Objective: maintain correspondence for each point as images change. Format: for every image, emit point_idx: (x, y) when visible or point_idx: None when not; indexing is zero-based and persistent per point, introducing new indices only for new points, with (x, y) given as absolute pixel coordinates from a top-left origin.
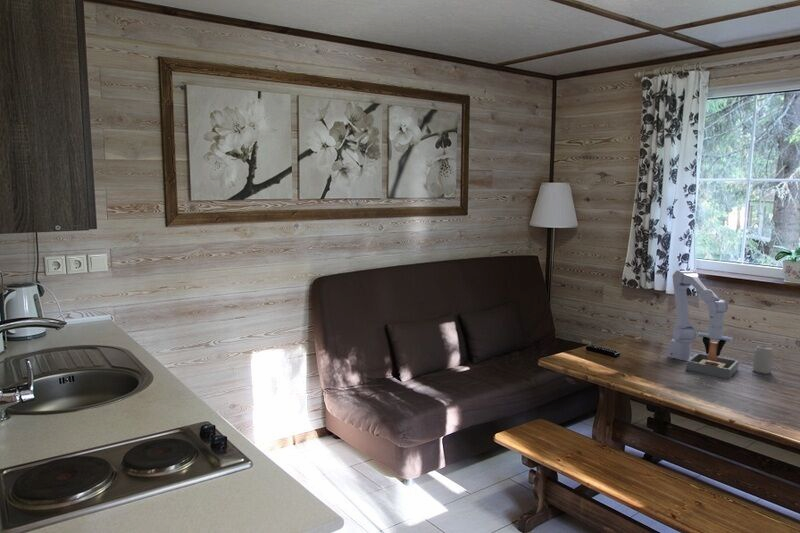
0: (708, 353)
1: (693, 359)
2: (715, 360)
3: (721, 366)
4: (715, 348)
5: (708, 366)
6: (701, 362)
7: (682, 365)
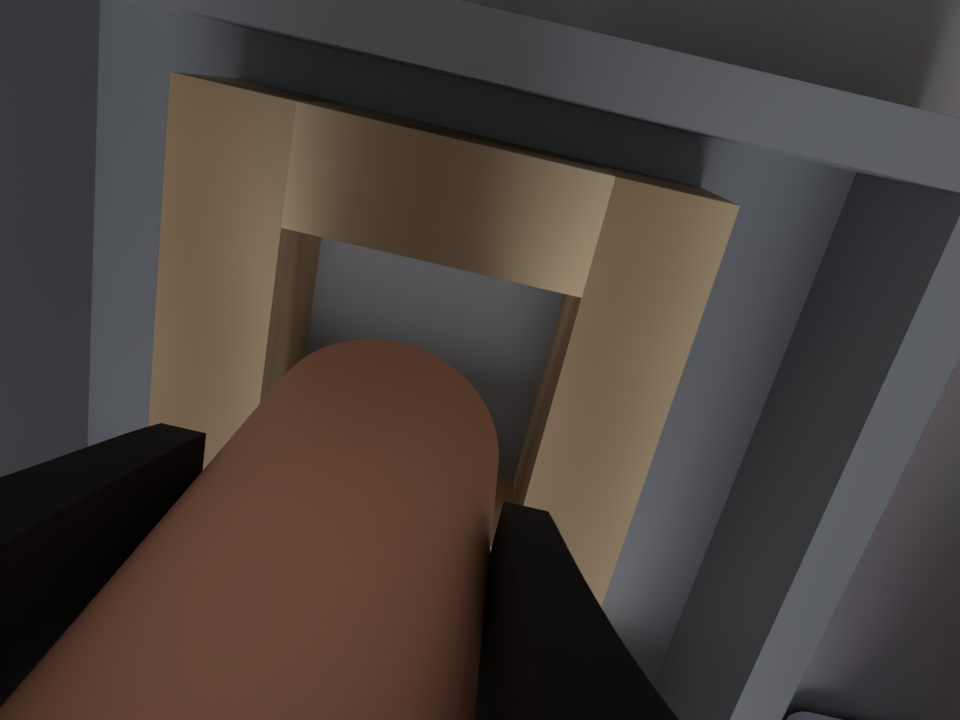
0: (478, 512)
1: (803, 506)
2: (293, 368)
3: (190, 294)
4: (132, 591)
5: (468, 8)
6: (627, 394)
7: (930, 446)
